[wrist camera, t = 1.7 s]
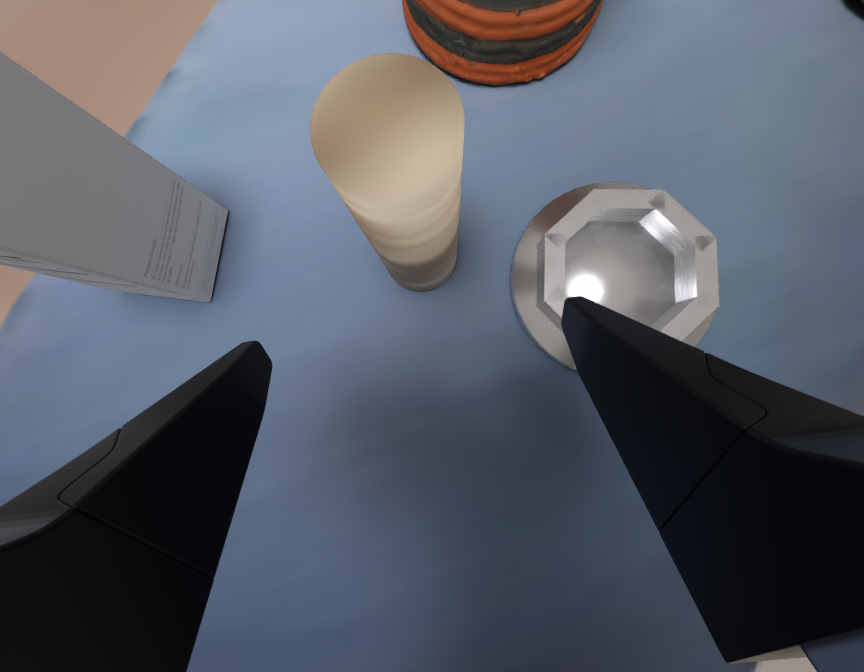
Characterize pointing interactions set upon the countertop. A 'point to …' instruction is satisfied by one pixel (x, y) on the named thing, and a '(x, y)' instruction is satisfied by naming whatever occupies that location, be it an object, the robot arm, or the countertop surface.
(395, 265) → the knob post
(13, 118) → the supplement box
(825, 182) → the countertop surface
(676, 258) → the socket ring
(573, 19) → the beer stein
